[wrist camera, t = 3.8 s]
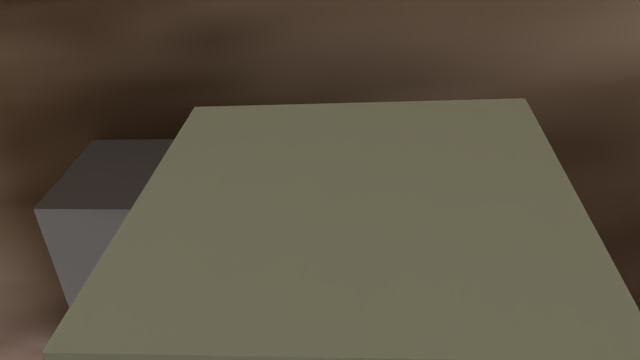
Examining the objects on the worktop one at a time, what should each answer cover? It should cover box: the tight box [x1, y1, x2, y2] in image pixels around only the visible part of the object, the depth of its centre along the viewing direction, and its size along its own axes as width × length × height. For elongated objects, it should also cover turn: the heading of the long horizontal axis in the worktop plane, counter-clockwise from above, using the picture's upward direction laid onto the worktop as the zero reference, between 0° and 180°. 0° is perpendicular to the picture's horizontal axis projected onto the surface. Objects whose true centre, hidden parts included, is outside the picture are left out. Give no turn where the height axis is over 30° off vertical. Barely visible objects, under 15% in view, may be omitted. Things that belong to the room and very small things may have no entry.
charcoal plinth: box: [33, 139, 174, 308], centre depth 18 cm, size 10×10×4 cm
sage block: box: [42, 98, 640, 360], centre depth 8 cm, size 5×5×5 cm
